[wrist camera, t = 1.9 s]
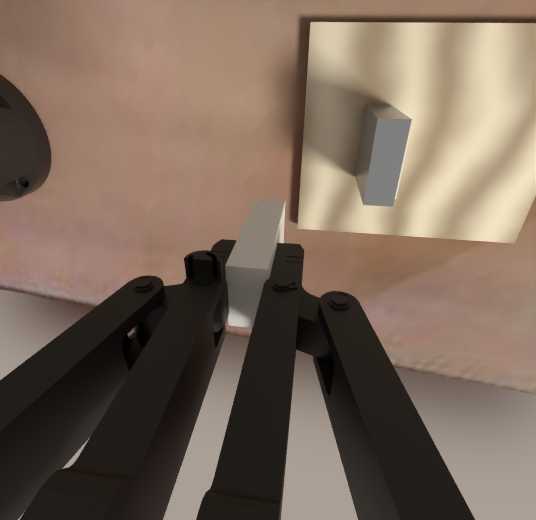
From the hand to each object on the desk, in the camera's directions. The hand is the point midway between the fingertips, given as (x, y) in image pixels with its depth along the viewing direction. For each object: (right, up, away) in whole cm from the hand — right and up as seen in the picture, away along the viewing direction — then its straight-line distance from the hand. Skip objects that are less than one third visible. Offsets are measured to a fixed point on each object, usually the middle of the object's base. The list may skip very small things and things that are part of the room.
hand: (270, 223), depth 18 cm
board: (+16, +10, +17) cm, 25 cm away
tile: (+10, +10, +16) cm, 22 cm away
